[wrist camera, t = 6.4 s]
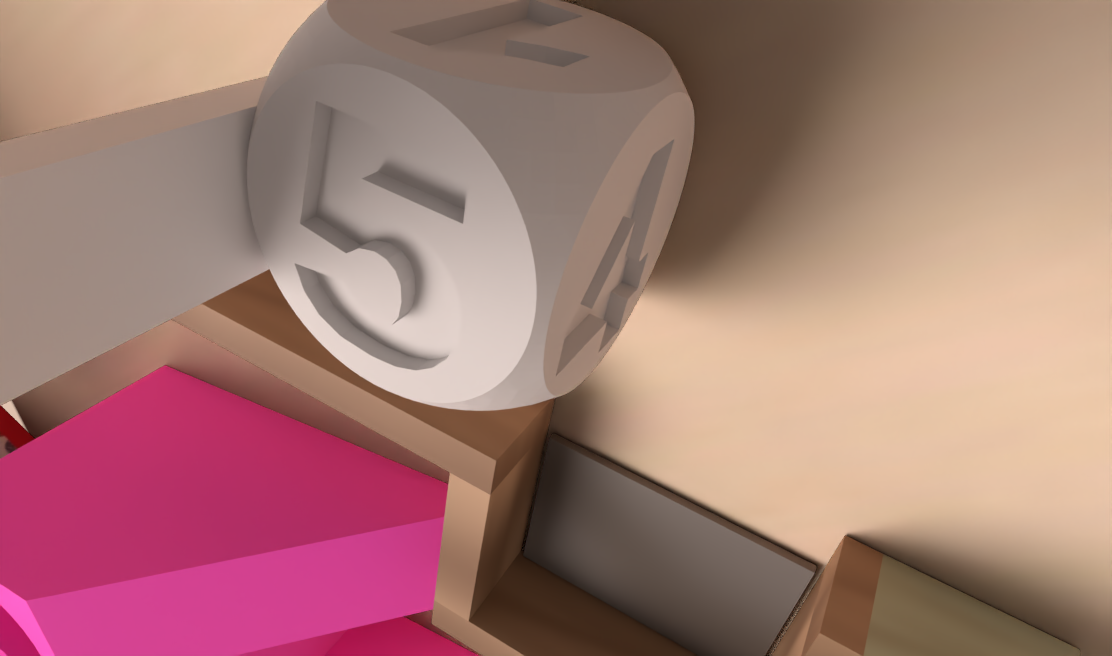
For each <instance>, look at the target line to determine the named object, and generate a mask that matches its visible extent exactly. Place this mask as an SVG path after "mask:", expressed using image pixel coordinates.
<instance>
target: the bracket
mask: <svg viewBox="0 0 1112 656" xmlns="http://www.w3.org/2000/svg"><path fill="white" fill-rule="evenodd" d="M447 491H448V484H447V483H445V482H442V481H440V480H437V479H435V478H433V477H430V476H428V475H425V474H423V473H421V472H418V471H416V470H414V469H411V468H409V467H406V466H404V465H402V464H399V463H397V462H394V461H392V460H390V459H387V458H385V457H383V456H380V455H378V454H375V453H373V452H371V451H368V450H366V449H364V448H361V447H359V446H356V445H354V444H352V443H349V442H347V441H344V440H342V439H340V438H337V437H335V436H333V435H330V434H328V433H325V432H323V431H321V430H318V429H316V428H313V427H311V426H309V425H306V424H304V423H302V422H299V421H297V420H294V419H292V418H290V417H287V416H285V415H283V414H280V413H278V412H275V411H273V410H271V409H268V408H266V407H263V406H261V405H259V404H256V403H254V402H252V401H249V400H247V399H244V398H242V397H240V396H237V395H235V394H232V393H230V392H228V391H225V390H223V389H221V388H218V387H216V386H213V385H211V384H209V383H206V382H204V381H202V380H199V379H197V378H194V377H192V376H190V375H187V374H185V373H182V372H180V371H178V370H175V369H173V368H171V367H168V366H166V365H164V366H163V367H161V368H159V369H157V370H156V371H154V372H152V373H150V374H149V375H147V376H145V377H143V378H142V379H140V380H138V381H136V382H134V383H133V384H131V385H129V386H127V387H126V388H124V389H122V390H120V391H119V392H117V393H115V394H113V395H112V396H110V397H108V398H106V399H105V400H103V401H101V402H99V403H98V404H96V405H94V406H92V407H90V408H89V409H87V410H85V411H83V412H82V413H80V414H78V415H76V416H75V417H73V418H71V419H69V420H68V421H66V422H64V423H62V424H61V425H59V426H57V427H55V428H54V429H52V430H50V431H48V432H47V433H45V434H43V435H41V436H39V437H38V438H36V439H34V440H32V441H31V442H29V443H27V444H25V445H24V446H22V447H20V448H18V449H17V450H15V451H13V452H11V453H10V454H8V455H6V456H4V457H3V458H1V459H0V656H479V655H477V654H475V653H473V652H471V651H469V650H467V649H465V648H463V647H461V646H459V645H458V644H456V643H454V642H452V641H450V640H448V639H446V638H444V637H442V636H440V635H438V634H436V633H434V632H432V631H430V630H429V629H427V628H425V627H423V626H421V625H419V624H417V623H415V622H413V621H411V620H409V619H407V618H405V617H403V616H407V615H411V614H415V613H420V612H424V611H428V610H433V606H434V598H435V589H436V581H437V573H438V565H439V557H440V548H441V540H442V532H443V524H444V516H445V507H446V499H447Z"/></svg>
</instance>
